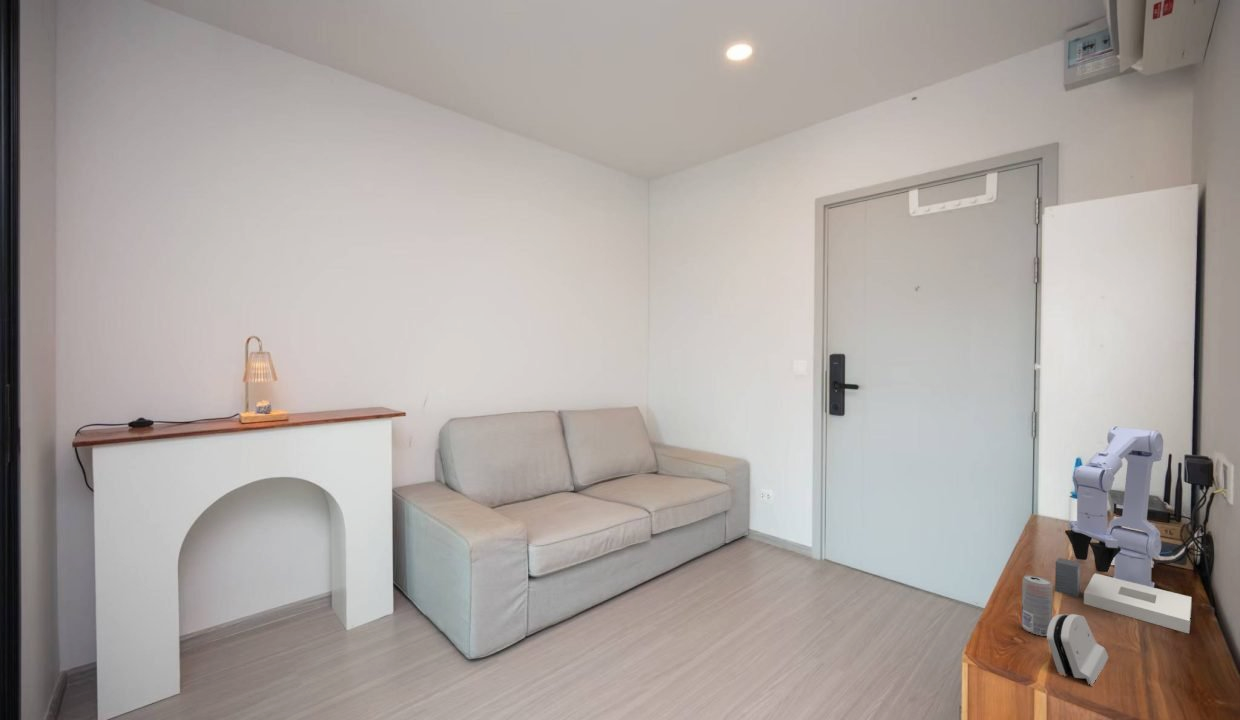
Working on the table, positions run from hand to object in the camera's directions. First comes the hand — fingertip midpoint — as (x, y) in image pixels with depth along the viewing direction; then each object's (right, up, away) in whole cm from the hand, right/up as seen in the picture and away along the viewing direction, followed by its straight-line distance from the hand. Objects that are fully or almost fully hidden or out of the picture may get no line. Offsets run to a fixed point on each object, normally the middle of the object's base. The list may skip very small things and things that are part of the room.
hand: (1091, 565), depth 130 cm
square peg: (0, -10, +7) cm, 12 cm away
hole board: (+10, -10, -1) cm, 14 cm away
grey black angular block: (-27, -10, -25) cm, 38 cm away
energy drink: (-25, -10, -13) cm, 30 cm away
